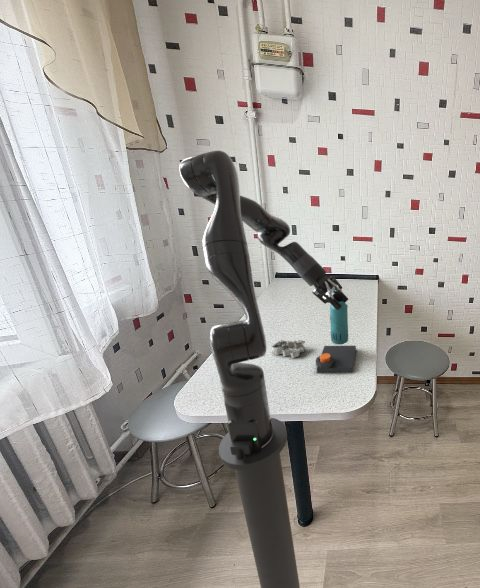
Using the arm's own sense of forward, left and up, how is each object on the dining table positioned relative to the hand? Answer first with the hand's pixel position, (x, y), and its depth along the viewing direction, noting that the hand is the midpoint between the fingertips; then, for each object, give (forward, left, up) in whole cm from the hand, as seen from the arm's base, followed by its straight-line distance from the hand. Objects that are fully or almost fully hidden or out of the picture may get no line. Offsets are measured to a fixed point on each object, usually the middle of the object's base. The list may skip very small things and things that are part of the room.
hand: (343, 304), depth 116 cm
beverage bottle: (+1, +2, -16) cm, 17 cm away
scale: (-3, +3, -21) cm, 22 cm away
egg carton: (+3, +22, -22) cm, 31 cm away
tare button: (-7, +6, -18) cm, 21 cm away
